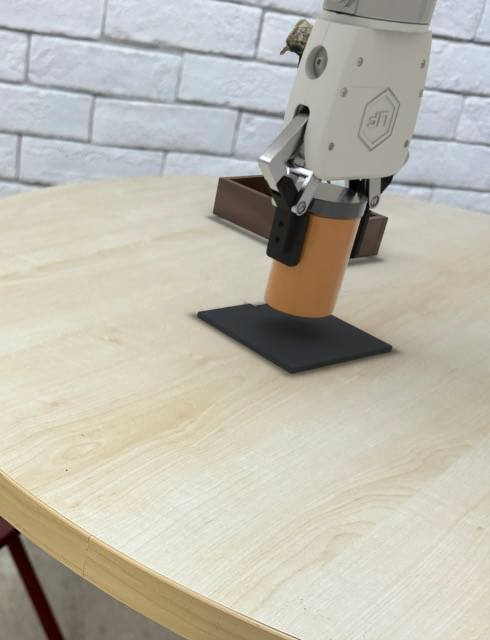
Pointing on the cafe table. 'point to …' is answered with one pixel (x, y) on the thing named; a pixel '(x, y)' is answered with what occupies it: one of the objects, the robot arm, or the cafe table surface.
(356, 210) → the jar
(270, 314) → the coaster
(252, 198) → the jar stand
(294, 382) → the cafe table surface
